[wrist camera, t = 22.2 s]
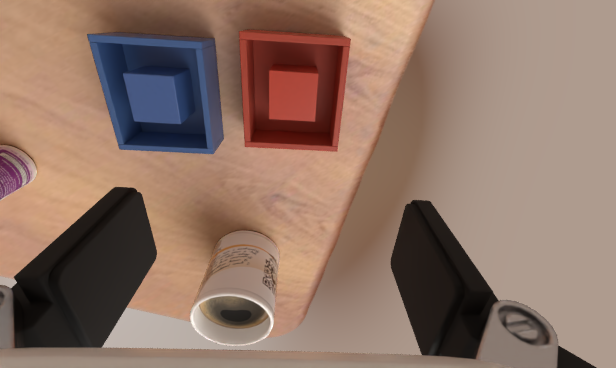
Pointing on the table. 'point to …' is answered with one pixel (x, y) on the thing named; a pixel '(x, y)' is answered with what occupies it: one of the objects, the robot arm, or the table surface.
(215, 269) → the mug
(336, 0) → the table surface
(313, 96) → the red block
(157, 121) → the blue block
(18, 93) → the table surface
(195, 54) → the blue bin
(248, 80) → the red bin
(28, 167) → the pill bottle
